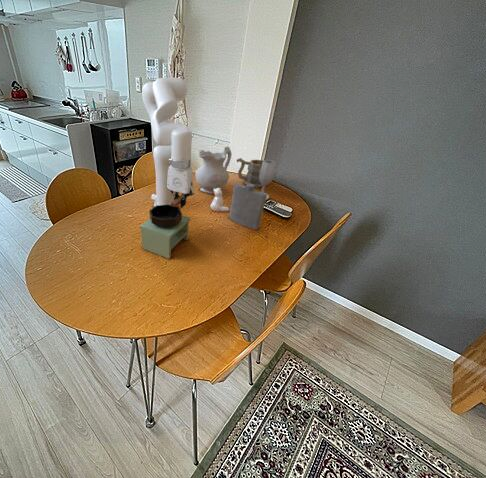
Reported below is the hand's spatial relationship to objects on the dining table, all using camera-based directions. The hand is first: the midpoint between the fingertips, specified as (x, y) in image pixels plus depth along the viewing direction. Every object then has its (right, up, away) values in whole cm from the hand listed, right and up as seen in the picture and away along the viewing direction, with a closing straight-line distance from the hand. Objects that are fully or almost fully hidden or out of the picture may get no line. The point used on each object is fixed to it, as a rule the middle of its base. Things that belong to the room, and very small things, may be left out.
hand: (179, 205), depth 110 cm
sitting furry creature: (+21, +1, +26) cm, 33 cm away
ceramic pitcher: (+20, +16, +47) cm, 54 cm away
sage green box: (-6, -17, -1) cm, 18 cm away
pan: (-3, -4, -4) cm, 7 cm away
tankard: (+46, +22, +57) cm, 76 cm away
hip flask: (+31, -7, +14) cm, 35 cm away
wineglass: (+48, +10, +39) cm, 62 cm away
